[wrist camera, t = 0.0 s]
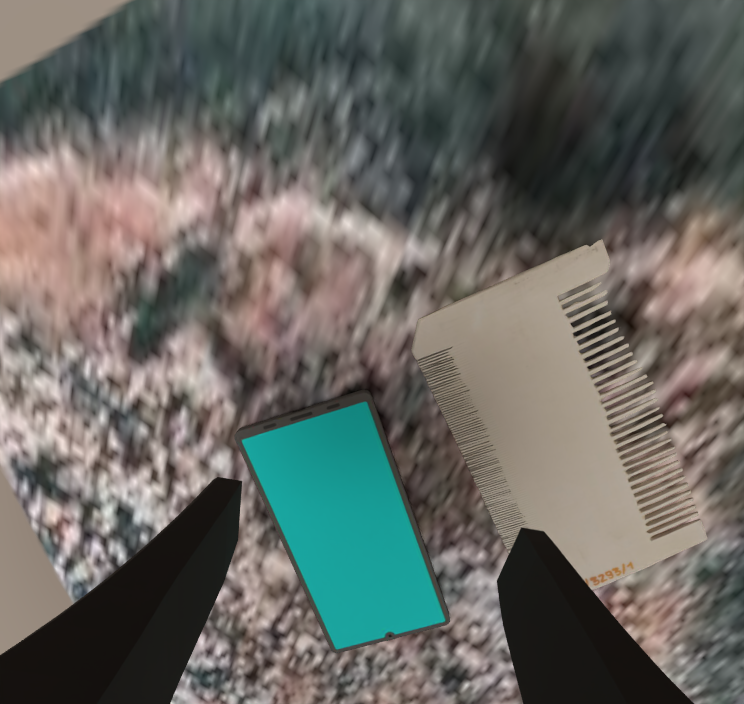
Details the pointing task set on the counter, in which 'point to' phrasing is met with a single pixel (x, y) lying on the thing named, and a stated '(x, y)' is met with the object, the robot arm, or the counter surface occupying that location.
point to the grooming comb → (553, 421)
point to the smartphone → (345, 520)
